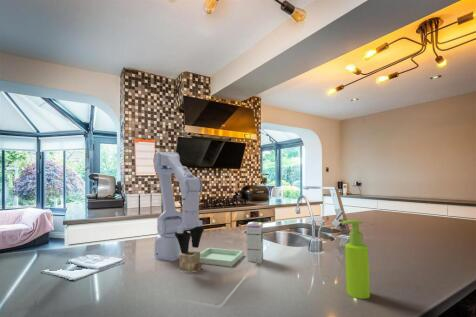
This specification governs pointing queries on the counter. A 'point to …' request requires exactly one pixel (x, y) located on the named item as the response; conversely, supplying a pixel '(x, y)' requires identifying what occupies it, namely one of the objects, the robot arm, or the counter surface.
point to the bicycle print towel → (88, 266)
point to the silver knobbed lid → (186, 271)
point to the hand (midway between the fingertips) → (190, 250)
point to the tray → (220, 256)
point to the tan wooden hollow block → (190, 261)
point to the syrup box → (254, 242)
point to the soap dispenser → (356, 263)
